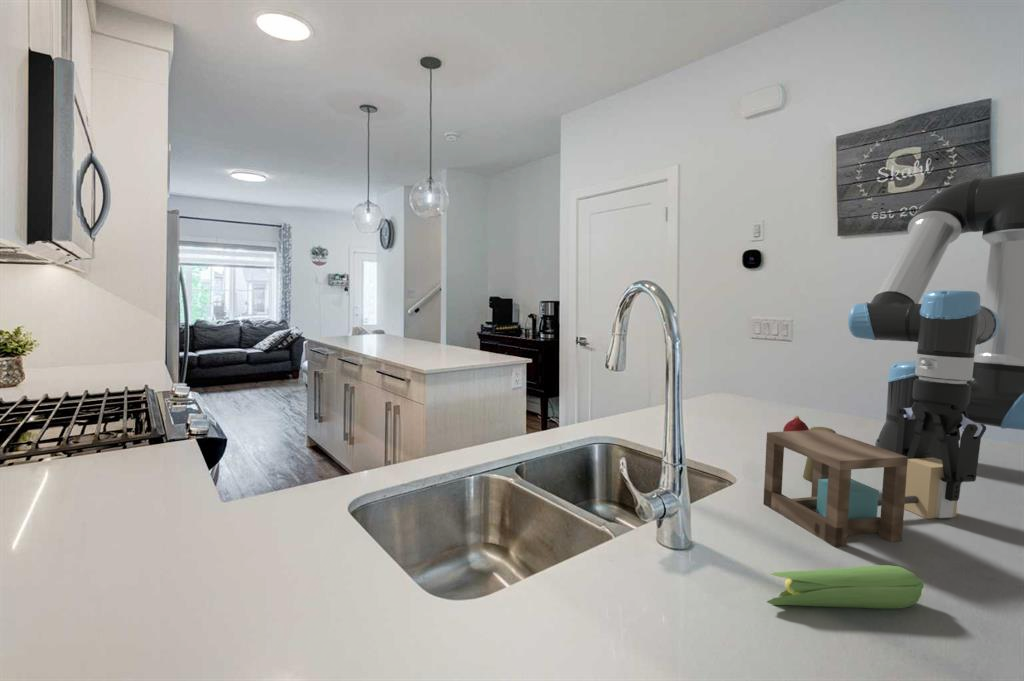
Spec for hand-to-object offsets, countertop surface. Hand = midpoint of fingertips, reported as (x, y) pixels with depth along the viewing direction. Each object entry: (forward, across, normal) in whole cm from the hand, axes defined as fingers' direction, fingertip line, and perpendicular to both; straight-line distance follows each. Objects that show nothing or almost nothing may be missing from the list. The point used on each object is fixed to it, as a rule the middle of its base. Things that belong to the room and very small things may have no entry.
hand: (928, 510), depth 87 cm
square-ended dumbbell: (+1, 0, -9) cm, 9 cm away
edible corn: (+2, +20, -37) cm, 42 cm away
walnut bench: (+1, 0, -20) cm, 21 cm away
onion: (0, -38, +5) cm, 38 cm away
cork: (+1, -17, -7) cm, 18 cm away
